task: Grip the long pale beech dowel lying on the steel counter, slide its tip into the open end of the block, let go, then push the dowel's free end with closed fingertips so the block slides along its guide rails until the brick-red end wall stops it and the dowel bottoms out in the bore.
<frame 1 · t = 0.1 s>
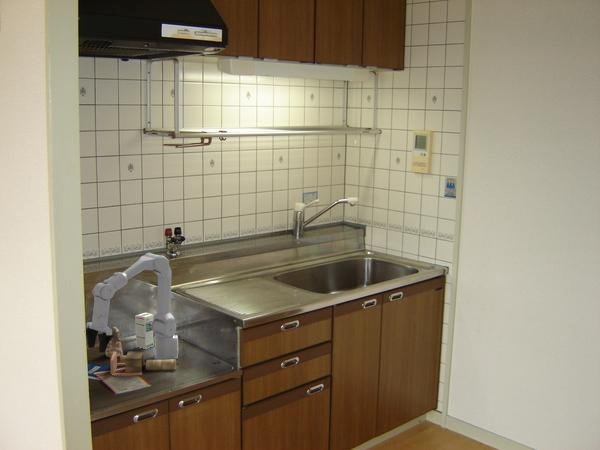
hand: (96, 349, 269), 11 cm above the countertop, tool pointing down, fingers open, 7 cm apart
end wall and guide rails: (129, 370, 278), on the countertop
block: (134, 362, 277), point 3 cm above the countertop, slide at 0.0 cm
figurine: (114, 355, 295), on the countertop
dowel: (161, 369, 279), on the countertop
syrup box: (145, 347, 305), on the countertop
short dowel: (130, 363, 286), on the countertop
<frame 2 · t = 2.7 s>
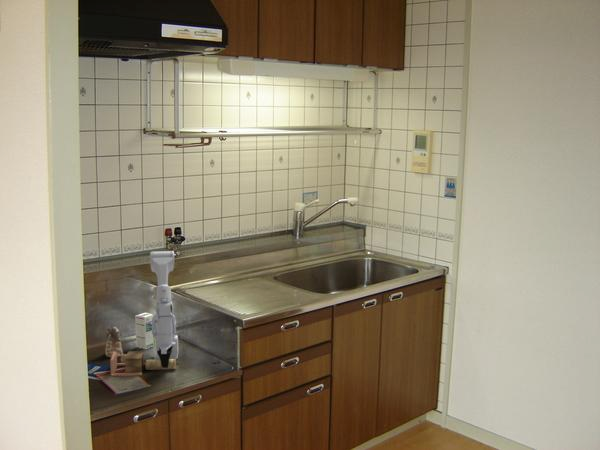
hand: (165, 365, 279), 1 cm above the countertop, tool pointing down, fingers closed on dowel, 4 cm apart
dowel: (160, 369, 279), on the countertop, touching gripper
short dowel: (130, 361, 286), on the countertop, tilted 51°
everything else where it was.
when the fingers open (2 cm above the countertop, at t = 5.0 s): dowel stays where it is, on the countertop.
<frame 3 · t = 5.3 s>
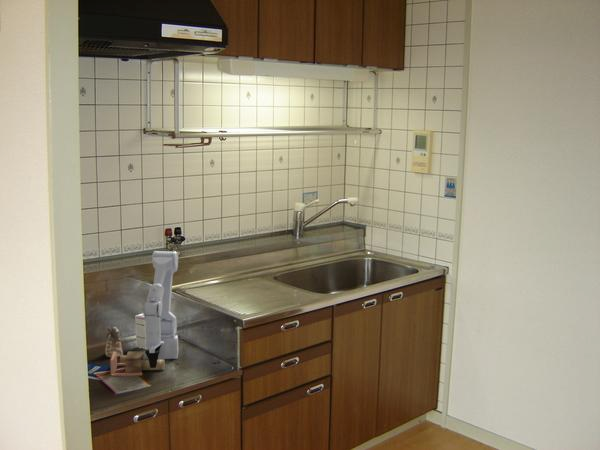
hand: (153, 364, 278), 2 cm above the countertop, tool pointing down, fingers open, 6 cm apart
dowel: (149, 369, 278), on the countertop
short dowel: (130, 363, 286), on the countertop, tilted 8°
everything else where it was.
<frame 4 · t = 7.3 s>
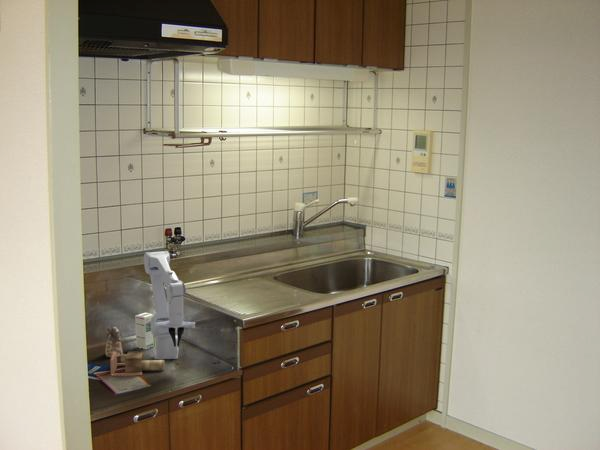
hand: (176, 345, 278), 9 cm above the countertop, tool pointing down, fingers closed
dowel: (149, 369, 279), on the countertop, tilted 14°
short dowel: (130, 361, 286), on the countertop, tilted 54°
everything else where it was.
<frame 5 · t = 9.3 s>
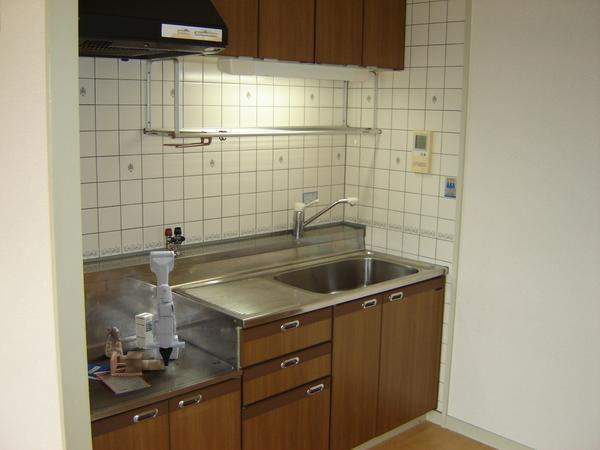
hand: (166, 365, 279), 1 cm above the countertop, tool pointing down, fingers closed
dowel: (148, 369, 278), on the countertop, tilted 15°, touching gripper
short dowel: (130, 363, 286), on the countertop
everything else where it was.
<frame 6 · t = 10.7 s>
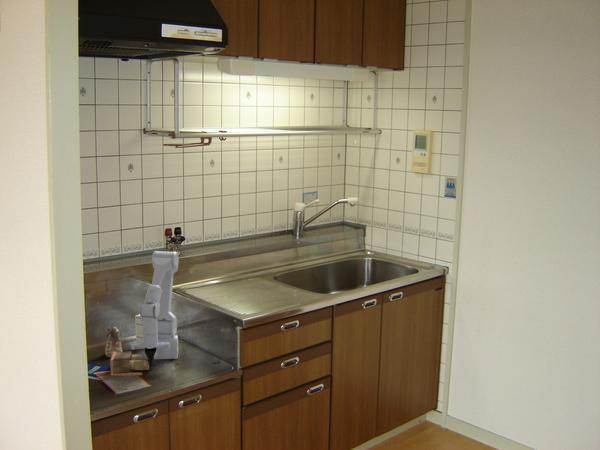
hand: (151, 366, 278), 1 cm above the countertop, tool pointing down, fingers closed
block: (122, 362, 277), point 3 cm above the countertop, slide at 4.5 cm, touching dowel, end wall and guide rails
dowel: (134, 369, 278), on the countertop, tilted 15°, touching block, gripper
short dowel: (130, 362, 286), on the countertop, tilted 23°
everything else where it was.
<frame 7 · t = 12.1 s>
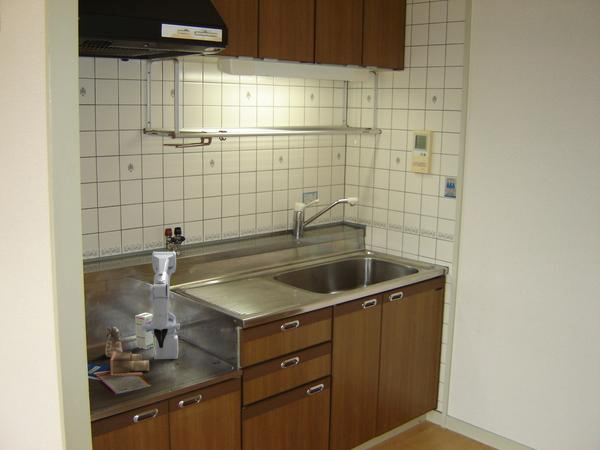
hand: (161, 347, 278), 9 cm above the countertop, tool pointing down, fingers closed
block: (122, 362, 277), point 3 cm above the countertop, slide at 4.5 cm
dowel: (134, 370, 278), on the countertop, tilted 18°
short dowel: (130, 361, 286), on the countertop, tilted 54°
everything else where it was.
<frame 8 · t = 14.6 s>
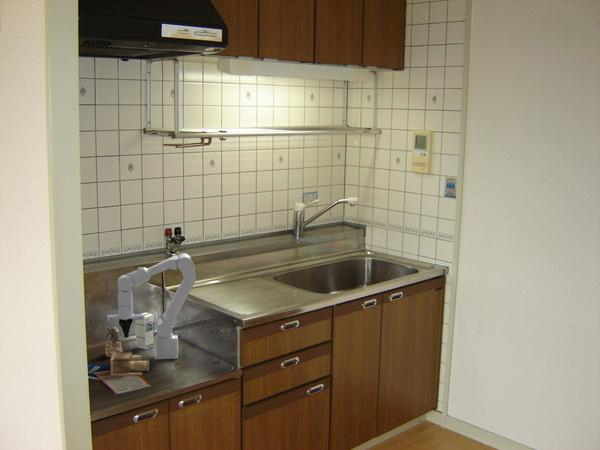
hand: (126, 337, 289), 9 cm above the countertop, tool pointing down, fingers closed
dowel: (134, 369, 278), on the countertop, tilted 25°
short dowel: (130, 363, 286), on the countertop
everything else where it was.
at the end: block slide at 4.5 cm; dowel 0.2 cm from the target spot on the countertop beside the block, on the countertop; the gripper is holding nothing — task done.
